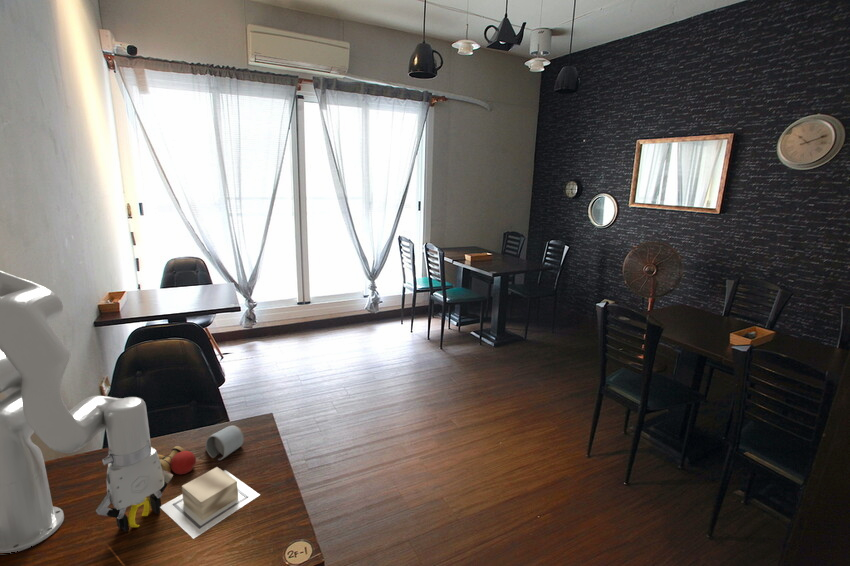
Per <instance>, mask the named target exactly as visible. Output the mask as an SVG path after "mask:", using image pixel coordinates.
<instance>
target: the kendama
mask: <svg viewBox="0 0 850 566" xmlns="http://www.w3.org/2000/svg"><path fill="white" fill-rule="evenodd" d="M157 454H158V457H159V460H160V463H161V467H162V470H164V471H167V472H170V473H172V472H173V473H175V474H176V475H185V474H187V473H189V472H191V471H192V470H193V468H194V467H195V466H196V461H197V460H196V459H197V458H196V456H195V454H194V453H193V452H192V451H189V450H185V449H184V448H183V447H181V446H179V445H176V446H174V447H172V449H171V451H170V454H169V455H168V456H165V455H163V454H159V453H157Z"/></svg>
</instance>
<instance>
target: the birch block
mask: <svg viewBox="0 0 850 566" xmlns="http://www.w3.org/2000/svg"><path fill="white" fill-rule="evenodd" d="M181 492H182V494H183V503H184V504H185V505H186V506H187V507H188V508H189V509H190V510H192V511H193V512H194V513H195V514H196V515H197V516H199V517H200V518H201V519H202V520H204V519H206V518H207V517H209V516H211V515H212V514H214V513H215V512H217V511H218V510H220V509H222V508H223V507H225V506H226V505H228V504H229V503H231V502H233V501H234V500H236V499H237V498H238V489H237V481H236V480H235V479H233V478H232V477H231V476H229V475H228V474H226V473H225V472H224V470H222V469H221V468H219V467H218V466H216V467H214V468H212V469H211V470H208V471H206V472H205V473H202V474H201V475H199V476H198V477H196V478H194V479H192V480H190V481H188V482H187V483H184V484H183V485H181Z"/></svg>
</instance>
